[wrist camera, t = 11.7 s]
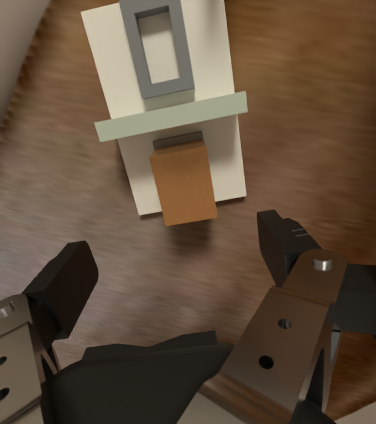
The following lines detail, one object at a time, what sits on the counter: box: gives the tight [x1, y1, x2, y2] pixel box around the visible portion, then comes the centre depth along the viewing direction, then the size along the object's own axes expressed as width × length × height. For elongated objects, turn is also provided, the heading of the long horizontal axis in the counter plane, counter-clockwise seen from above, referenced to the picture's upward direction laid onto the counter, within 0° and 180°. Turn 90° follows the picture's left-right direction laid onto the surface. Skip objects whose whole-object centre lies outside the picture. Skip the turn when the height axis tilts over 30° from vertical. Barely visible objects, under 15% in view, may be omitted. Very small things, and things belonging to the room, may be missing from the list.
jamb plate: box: [81, 0, 248, 215], centre depth 23 cm, size 19×12×6 cm, turn 11°
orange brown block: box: [149, 139, 218, 226], centre depth 24 cm, size 6×4×6 cm
